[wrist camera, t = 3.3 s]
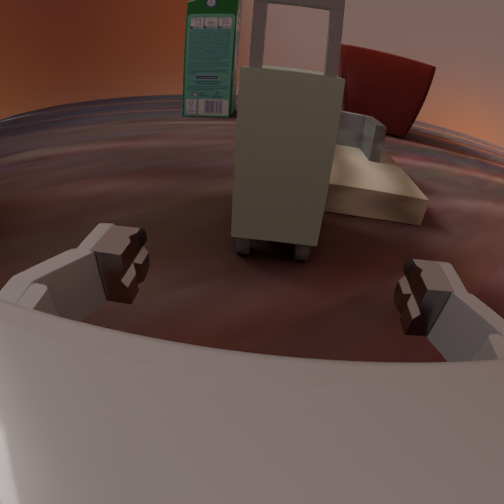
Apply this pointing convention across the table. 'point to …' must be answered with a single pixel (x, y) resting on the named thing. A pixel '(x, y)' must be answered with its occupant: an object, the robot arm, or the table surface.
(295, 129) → the pale green handled box
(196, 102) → the milk carton
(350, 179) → the dock
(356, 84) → the plant pot
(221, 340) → the table surface
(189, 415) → the robot arm
